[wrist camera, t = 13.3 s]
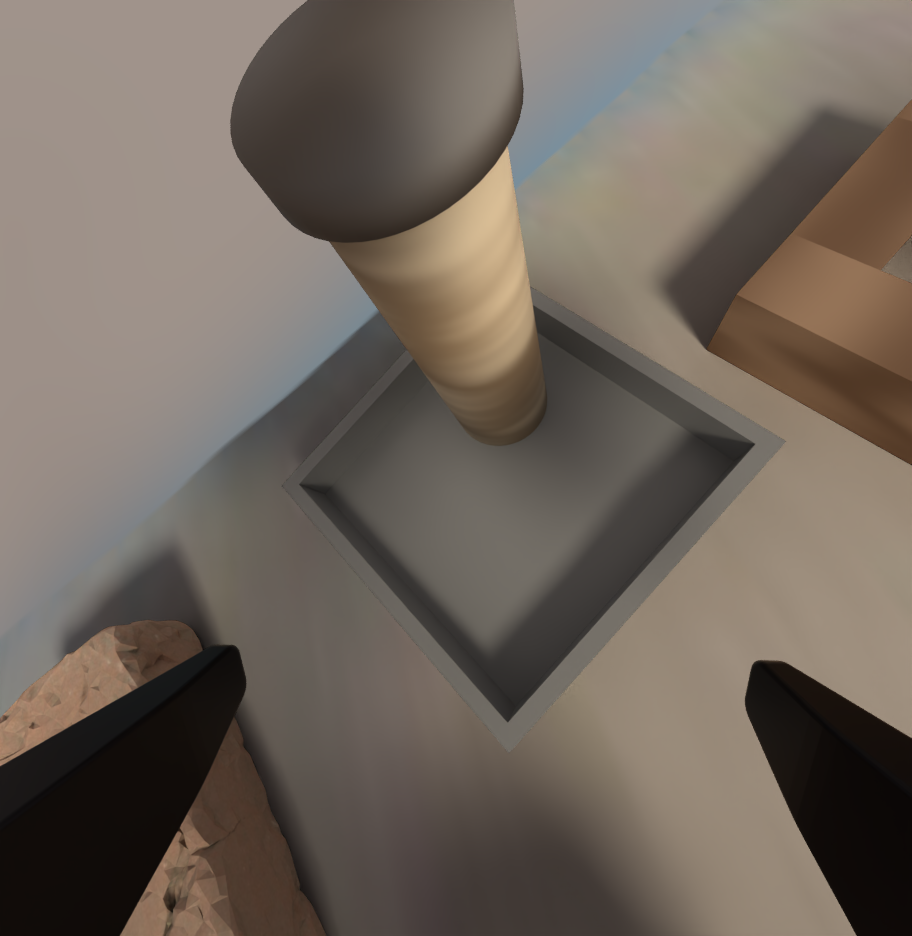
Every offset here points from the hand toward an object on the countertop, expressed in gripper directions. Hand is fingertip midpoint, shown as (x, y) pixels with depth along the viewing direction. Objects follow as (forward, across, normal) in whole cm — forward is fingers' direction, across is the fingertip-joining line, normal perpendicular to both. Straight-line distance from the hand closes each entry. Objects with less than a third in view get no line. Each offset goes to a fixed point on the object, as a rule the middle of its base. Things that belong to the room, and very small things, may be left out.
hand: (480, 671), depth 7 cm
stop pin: (+13, 0, -3) cm, 13 cm away
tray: (+11, -1, 0) cm, 11 cm away
